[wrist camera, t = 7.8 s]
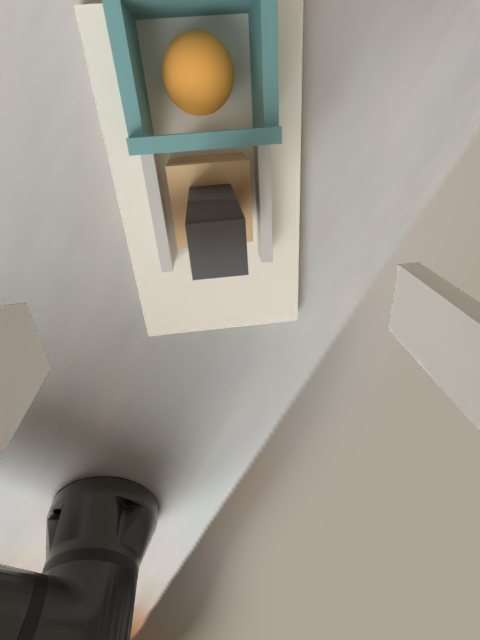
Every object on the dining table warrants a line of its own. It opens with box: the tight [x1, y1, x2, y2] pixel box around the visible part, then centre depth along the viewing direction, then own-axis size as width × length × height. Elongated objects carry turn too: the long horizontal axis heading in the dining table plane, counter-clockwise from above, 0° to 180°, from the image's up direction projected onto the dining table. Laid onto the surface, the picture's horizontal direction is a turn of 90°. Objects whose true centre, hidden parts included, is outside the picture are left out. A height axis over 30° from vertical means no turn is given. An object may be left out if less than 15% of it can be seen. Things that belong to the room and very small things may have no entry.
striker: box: [165, 153, 253, 280], centre depth 25 cm, size 6×6×15 cm
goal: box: [102, 0, 282, 156], centre depth 25 cm, size 9×10×7 cm
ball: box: [162, 30, 234, 116], centre depth 26 cm, size 5×5×5 cm
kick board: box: [73, 0, 303, 336], centre depth 32 cm, size 27×16×4 cm, turn 4°
